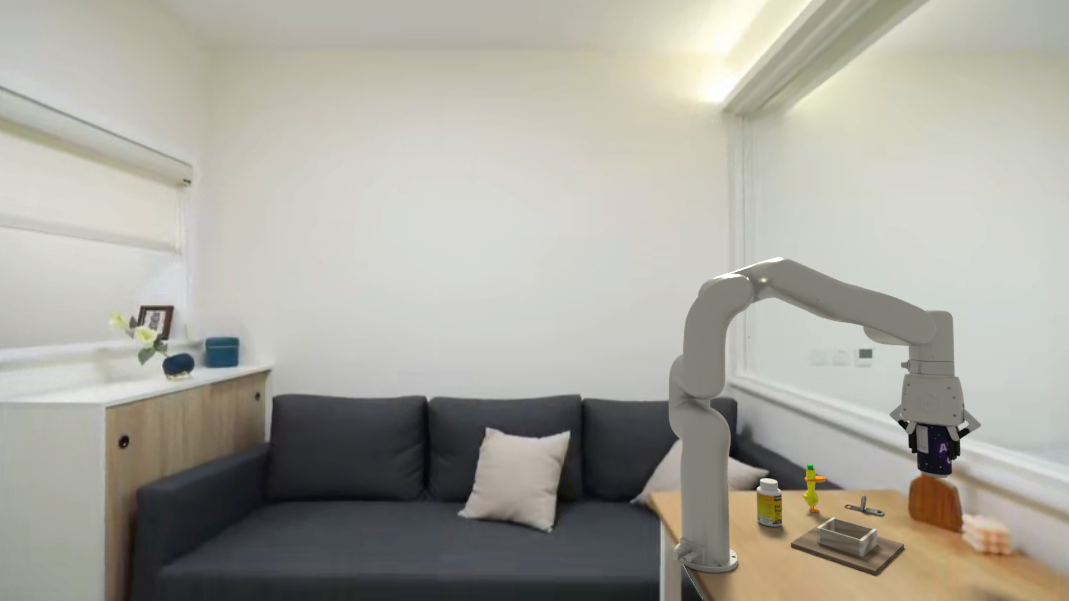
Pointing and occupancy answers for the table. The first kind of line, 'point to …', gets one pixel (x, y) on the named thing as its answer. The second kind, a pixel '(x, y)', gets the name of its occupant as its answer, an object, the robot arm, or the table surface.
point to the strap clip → (867, 510)
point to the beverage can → (933, 450)
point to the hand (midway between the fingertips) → (934, 454)
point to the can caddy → (849, 545)
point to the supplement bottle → (769, 503)
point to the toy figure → (812, 487)
